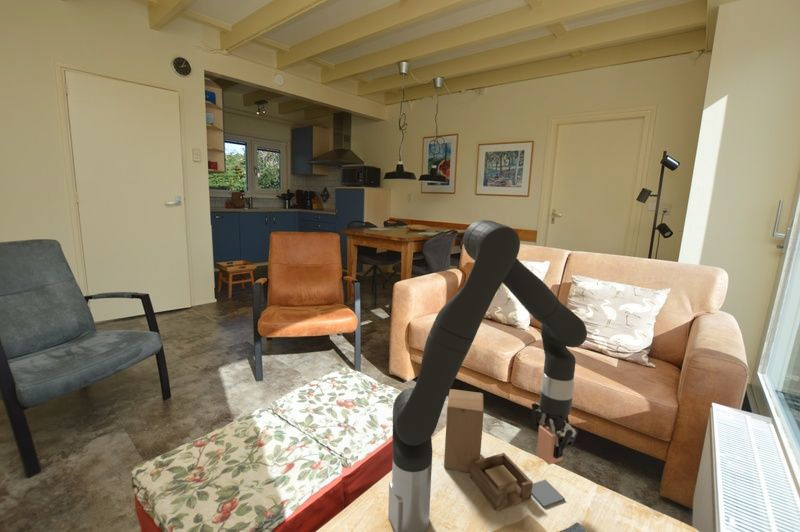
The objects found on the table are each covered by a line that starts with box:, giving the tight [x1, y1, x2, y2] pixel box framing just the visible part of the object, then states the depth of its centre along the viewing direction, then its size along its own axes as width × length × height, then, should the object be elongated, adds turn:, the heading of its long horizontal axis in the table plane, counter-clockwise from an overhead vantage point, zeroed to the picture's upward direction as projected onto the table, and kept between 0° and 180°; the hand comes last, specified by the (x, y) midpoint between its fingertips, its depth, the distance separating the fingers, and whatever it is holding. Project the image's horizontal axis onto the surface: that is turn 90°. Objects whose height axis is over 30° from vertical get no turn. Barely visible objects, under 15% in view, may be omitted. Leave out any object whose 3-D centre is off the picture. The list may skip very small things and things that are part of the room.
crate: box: [470, 452, 534, 512], centre depth 102 cm, size 11×12×5 cm
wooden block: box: [443, 388, 485, 474], centre depth 111 cm, size 10×10×20 cm
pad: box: [531, 479, 566, 509], centre depth 101 cm, size 7×7×1 cm
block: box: [536, 426, 565, 465], centre depth 98 cm, size 4×4×8 cm
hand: (549, 450), depth 98 cm, fingers closed on block, 4 cm apart
